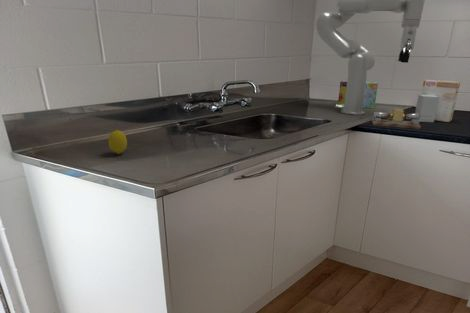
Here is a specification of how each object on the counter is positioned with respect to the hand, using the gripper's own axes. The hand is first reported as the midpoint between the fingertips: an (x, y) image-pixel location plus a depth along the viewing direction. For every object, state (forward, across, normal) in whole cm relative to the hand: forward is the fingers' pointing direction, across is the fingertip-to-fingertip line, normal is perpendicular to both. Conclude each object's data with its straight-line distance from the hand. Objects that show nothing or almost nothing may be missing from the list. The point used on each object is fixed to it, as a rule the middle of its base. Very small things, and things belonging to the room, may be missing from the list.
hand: (402, 61), depth 165 cm
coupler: (+27, -15, 0) cm, 31 cm away
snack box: (+29, +31, +17) cm, 46 cm away
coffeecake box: (+28, +8, -21) cm, 36 cm away
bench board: (+28, -15, 0) cm, 32 cm away
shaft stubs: (+28, -15, 0) cm, 32 cm away
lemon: (+30, -102, +89) cm, 139 cm away
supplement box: (+28, +2, -15) cm, 32 cm away
